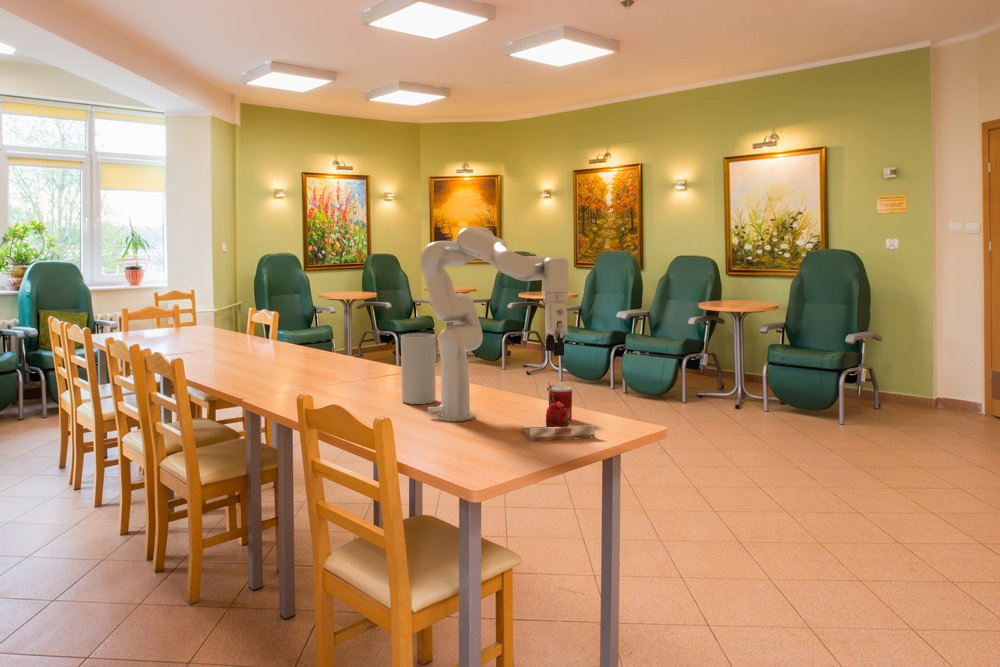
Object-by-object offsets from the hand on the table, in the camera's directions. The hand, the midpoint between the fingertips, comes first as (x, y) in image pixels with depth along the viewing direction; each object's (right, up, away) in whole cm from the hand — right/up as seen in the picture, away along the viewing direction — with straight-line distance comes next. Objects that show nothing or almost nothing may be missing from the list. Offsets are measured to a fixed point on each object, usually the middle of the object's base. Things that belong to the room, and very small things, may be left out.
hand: (554, 353), depth 231 cm
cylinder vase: (-47, -20, +50) cm, 71 cm away
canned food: (+3, -23, +20) cm, 31 cm away
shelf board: (+1, -25, +1) cm, 25 cm away
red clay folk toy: (+1, -24, +1) cm, 24 cm away
